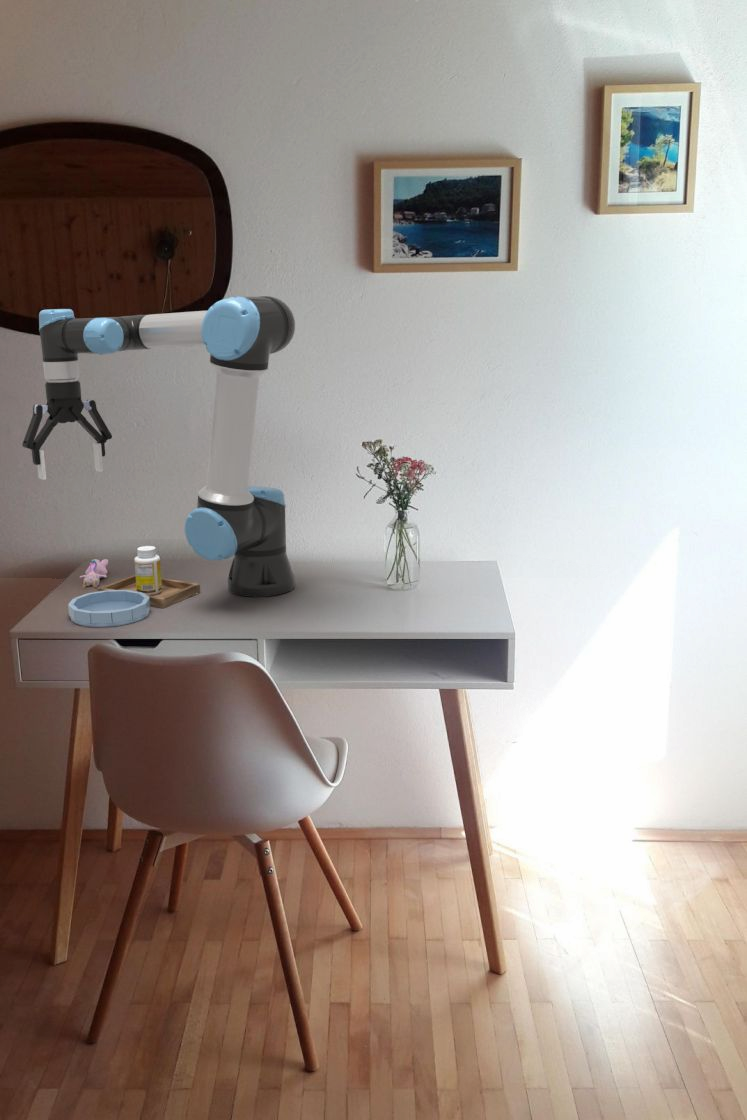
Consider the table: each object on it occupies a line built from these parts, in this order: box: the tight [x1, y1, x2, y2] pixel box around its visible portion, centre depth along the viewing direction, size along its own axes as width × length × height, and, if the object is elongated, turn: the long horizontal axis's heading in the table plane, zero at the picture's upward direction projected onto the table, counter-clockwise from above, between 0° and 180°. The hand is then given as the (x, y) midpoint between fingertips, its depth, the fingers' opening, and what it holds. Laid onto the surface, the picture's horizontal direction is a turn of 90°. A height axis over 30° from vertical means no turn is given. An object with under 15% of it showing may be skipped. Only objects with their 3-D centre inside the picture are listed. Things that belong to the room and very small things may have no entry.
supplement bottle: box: [133, 545, 162, 595], centre depth 235 cm, size 6×6×10 cm
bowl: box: [67, 590, 151, 628], centre depth 222 cm, size 16×16×3 cm
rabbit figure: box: [79, 558, 109, 589], centre depth 248 cm, size 6×6×15 cm
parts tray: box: [97, 573, 201, 609], centre depth 236 cm, size 18×13×2 cm
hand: (71, 475), depth 242 cm, fingers open, 13 cm apart
